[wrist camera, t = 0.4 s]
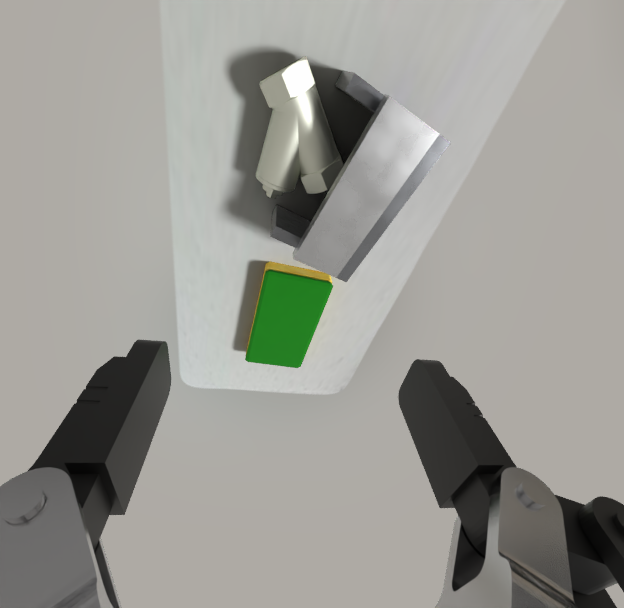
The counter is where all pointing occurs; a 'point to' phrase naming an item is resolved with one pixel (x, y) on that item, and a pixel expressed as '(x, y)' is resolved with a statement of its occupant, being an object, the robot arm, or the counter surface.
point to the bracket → (363, 185)
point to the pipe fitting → (296, 134)
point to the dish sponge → (287, 314)
